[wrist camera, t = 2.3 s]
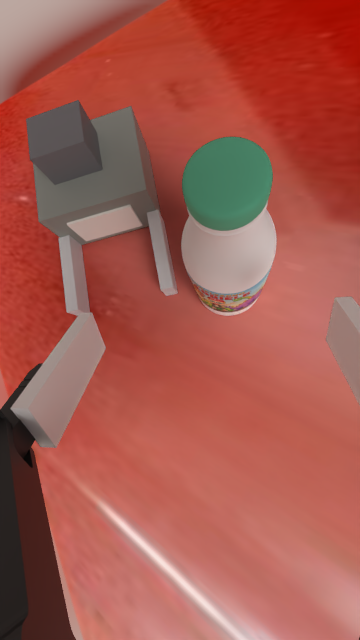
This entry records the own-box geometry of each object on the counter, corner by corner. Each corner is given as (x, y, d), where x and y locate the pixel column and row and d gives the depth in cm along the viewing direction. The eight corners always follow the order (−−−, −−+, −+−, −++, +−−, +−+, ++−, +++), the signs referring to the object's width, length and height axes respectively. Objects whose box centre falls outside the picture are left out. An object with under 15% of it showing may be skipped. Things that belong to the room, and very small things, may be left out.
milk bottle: (198, 255, 34) (156, 114, 15) (261, 254, 33) (308, 96, 13) (195, 315, 33) (145, 249, 13) (260, 317, 31) (310, 245, 12)
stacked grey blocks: (150, 151, 38) (119, 68, 27) (178, 293, 34) (154, 261, 23) (63, 179, 40) (2, 111, 29) (79, 316, 36) (15, 296, 25)
